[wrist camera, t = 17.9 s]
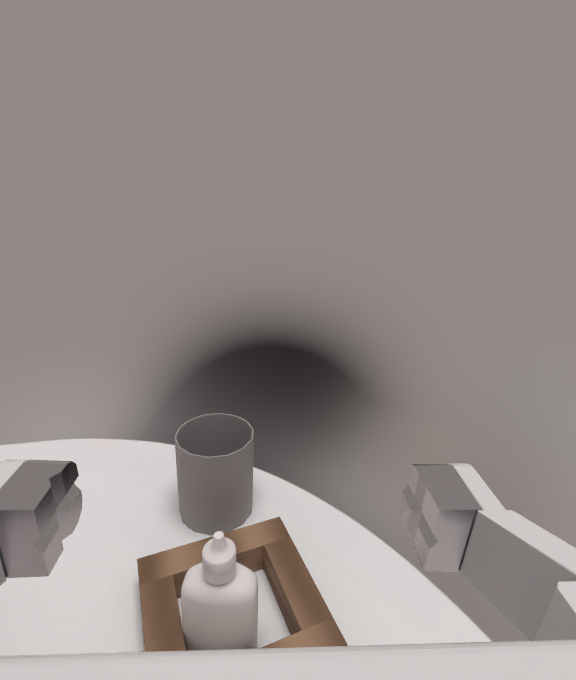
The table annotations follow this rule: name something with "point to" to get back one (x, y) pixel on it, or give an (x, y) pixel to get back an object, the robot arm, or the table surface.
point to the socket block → (254, 553)
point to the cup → (215, 472)
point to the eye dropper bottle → (219, 600)
